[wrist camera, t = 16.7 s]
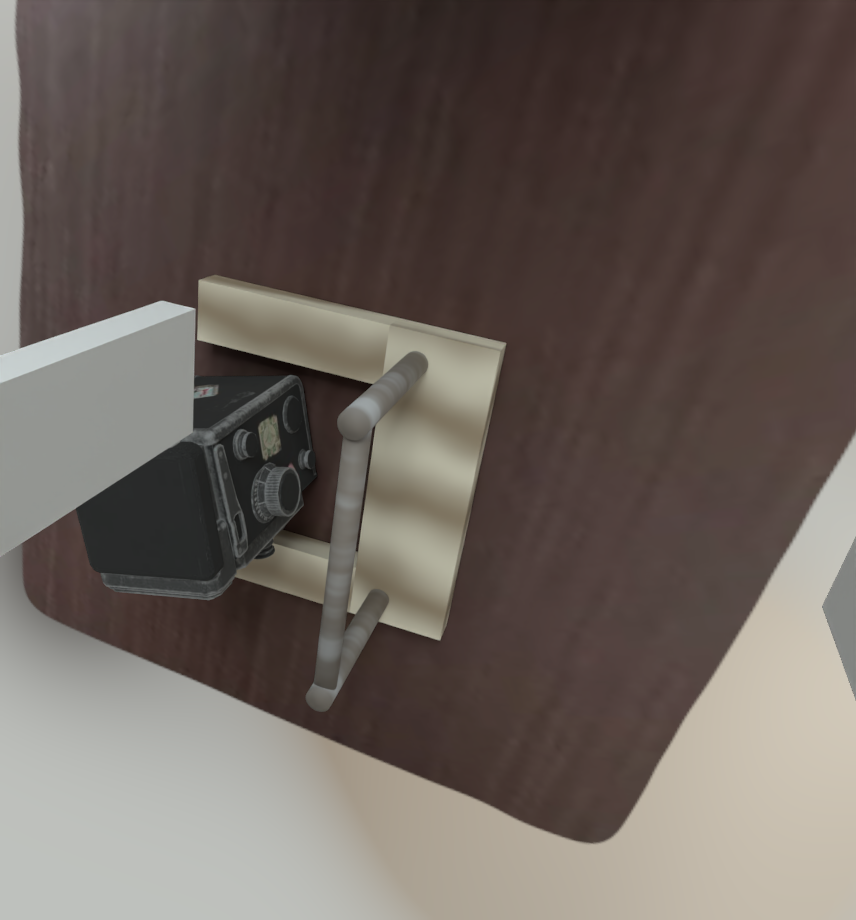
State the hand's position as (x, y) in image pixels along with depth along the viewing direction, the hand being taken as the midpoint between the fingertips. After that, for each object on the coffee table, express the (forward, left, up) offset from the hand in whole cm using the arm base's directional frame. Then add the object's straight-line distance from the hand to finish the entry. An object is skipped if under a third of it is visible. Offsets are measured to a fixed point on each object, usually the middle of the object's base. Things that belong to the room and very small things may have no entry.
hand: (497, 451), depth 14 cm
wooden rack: (+18, -14, -32) cm, 39 cm away
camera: (+18, -19, -32) cm, 41 cm away
